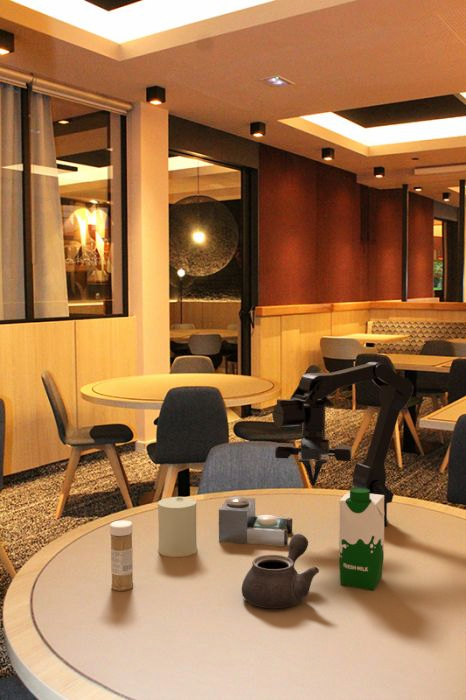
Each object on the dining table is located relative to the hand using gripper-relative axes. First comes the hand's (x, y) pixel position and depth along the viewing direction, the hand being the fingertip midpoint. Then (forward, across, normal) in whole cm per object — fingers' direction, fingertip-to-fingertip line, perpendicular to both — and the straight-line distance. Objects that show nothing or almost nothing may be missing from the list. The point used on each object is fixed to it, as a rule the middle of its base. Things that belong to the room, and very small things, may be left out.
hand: (313, 485), depth 179 cm
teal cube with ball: (+12, -11, -6) cm, 17 cm away
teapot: (+12, -2, -38) cm, 40 cm away
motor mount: (+12, -13, -6) cm, 19 cm away
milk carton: (+12, +13, -29) cm, 34 cm away
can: (+12, -30, -19) cm, 38 cm away
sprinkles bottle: (+12, -35, -42) cm, 56 cm away
